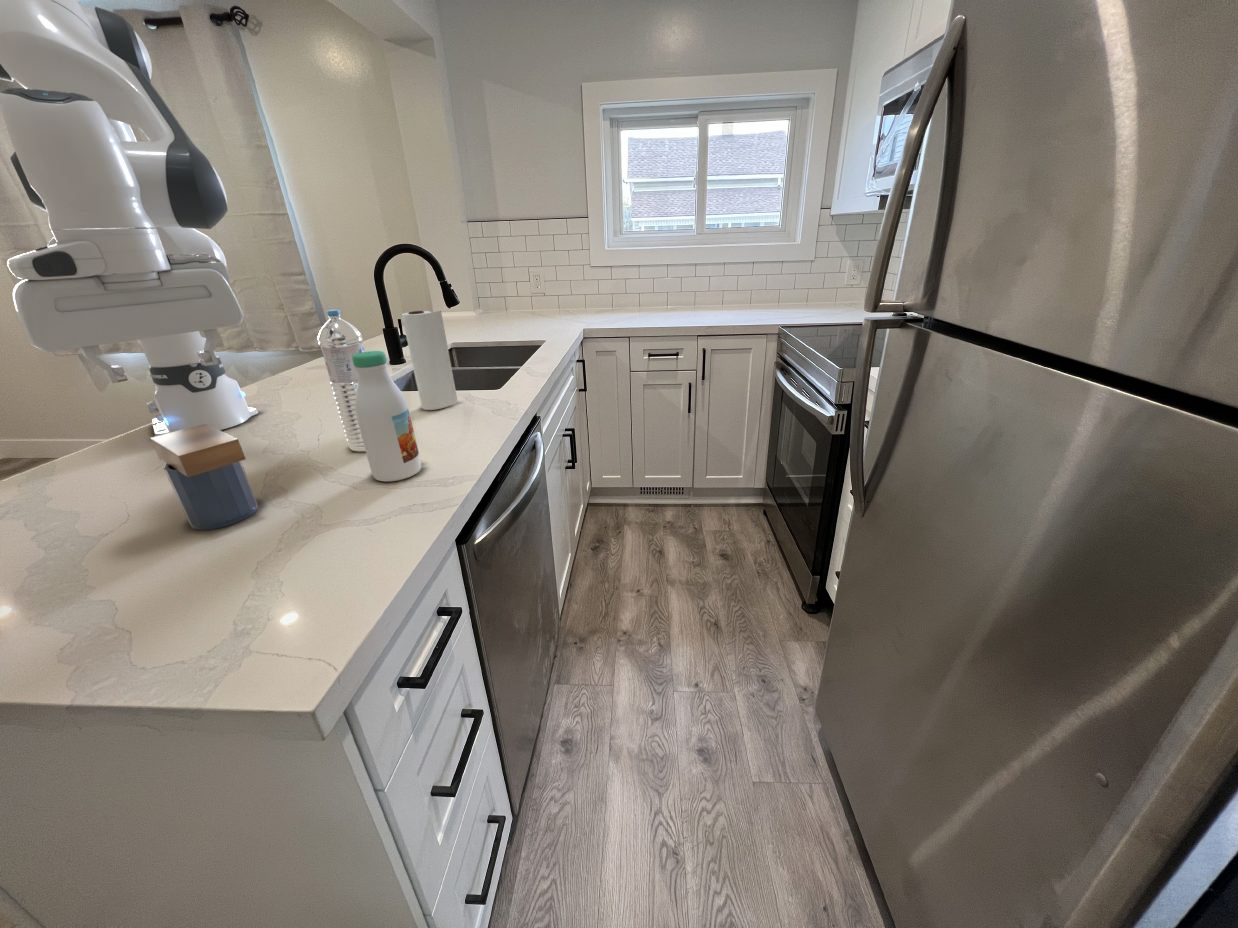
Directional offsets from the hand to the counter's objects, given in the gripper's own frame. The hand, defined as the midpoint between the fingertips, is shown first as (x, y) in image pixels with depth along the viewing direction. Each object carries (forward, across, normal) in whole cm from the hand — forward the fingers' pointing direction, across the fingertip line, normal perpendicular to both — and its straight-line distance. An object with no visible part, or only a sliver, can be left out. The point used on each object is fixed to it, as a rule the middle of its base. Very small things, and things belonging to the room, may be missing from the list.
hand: (167, 372), depth 64 cm
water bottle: (+21, -26, -6) cm, 34 cm away
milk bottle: (+21, -22, +10) cm, 32 cm away
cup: (+21, 0, +1) cm, 21 cm away
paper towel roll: (+21, -48, -15) cm, 54 cm away
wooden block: (+12, 0, +1) cm, 12 cm away
